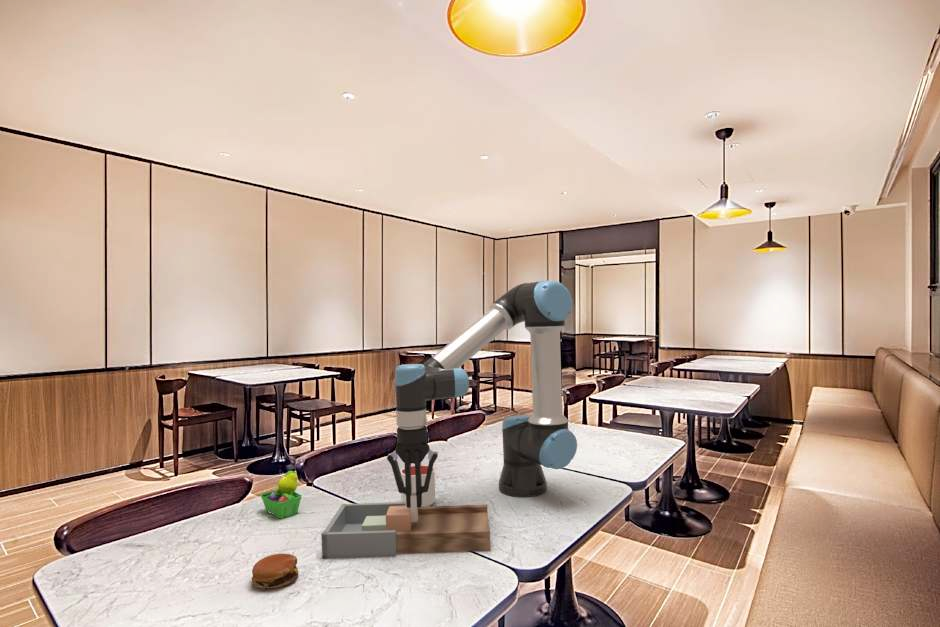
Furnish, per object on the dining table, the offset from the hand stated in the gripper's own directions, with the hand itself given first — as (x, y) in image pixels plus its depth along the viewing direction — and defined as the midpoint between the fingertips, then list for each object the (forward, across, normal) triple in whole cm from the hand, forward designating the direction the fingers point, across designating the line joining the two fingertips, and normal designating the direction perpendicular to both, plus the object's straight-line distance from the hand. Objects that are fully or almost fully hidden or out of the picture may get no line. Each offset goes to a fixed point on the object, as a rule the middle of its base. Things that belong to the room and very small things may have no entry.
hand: (414, 519), depth 128 cm
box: (+4, +12, 0) cm, 13 cm away
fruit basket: (+5, +40, -20) cm, 45 cm away
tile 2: (+1, +4, 0) cm, 4 cm away
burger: (+5, +28, +18) cm, 34 cm away
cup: (+5, +1, -23) cm, 24 cm away
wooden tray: (+5, -8, 0) cm, 9 cm away
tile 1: (+4, +10, 0) cm, 10 cm away
